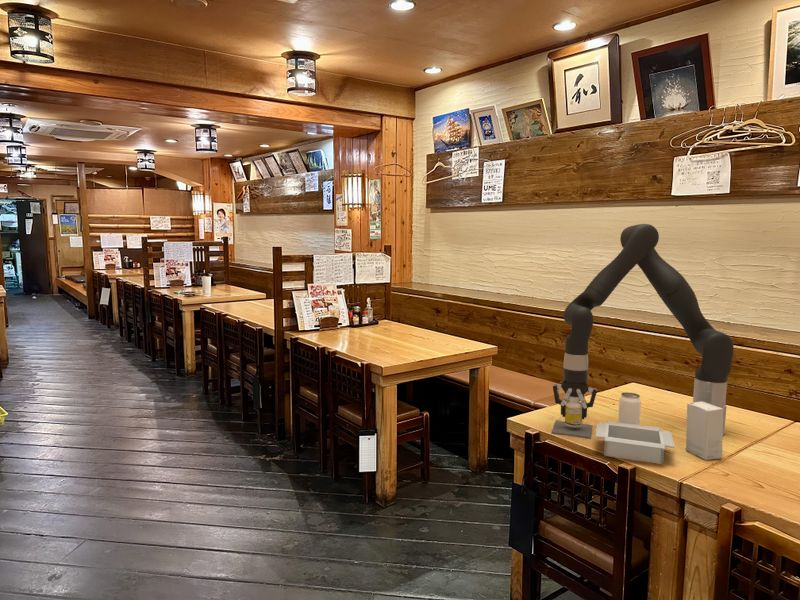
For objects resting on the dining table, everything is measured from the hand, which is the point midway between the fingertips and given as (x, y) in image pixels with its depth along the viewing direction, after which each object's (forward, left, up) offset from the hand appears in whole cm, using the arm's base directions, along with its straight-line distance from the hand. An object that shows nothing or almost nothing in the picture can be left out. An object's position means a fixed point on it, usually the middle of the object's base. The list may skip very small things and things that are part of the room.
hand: (573, 417), depth 181 cm
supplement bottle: (0, 0, -3) cm, 3 cm away
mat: (0, 0, -4) cm, 4 cm away
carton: (-18, +12, -4) cm, 22 cm away
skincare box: (-37, +6, -5) cm, 38 cm away
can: (-17, -7, -5) cm, 19 cm away
